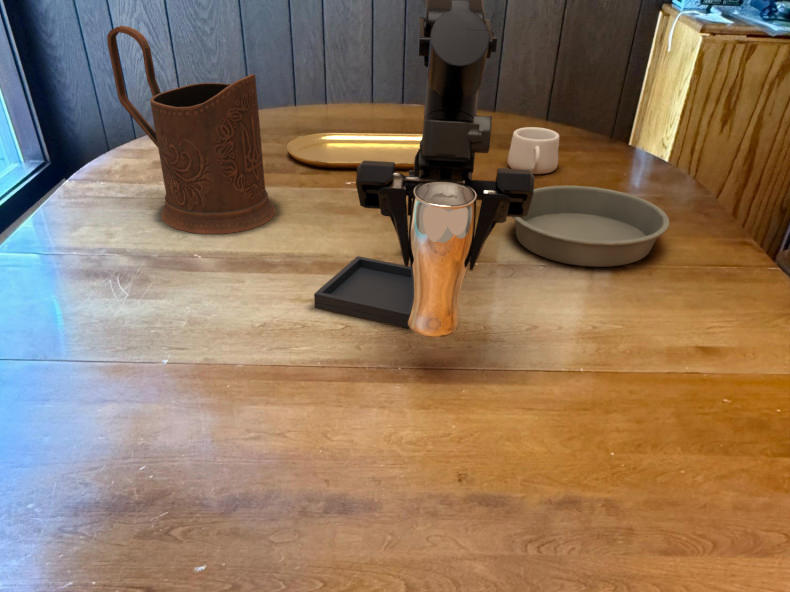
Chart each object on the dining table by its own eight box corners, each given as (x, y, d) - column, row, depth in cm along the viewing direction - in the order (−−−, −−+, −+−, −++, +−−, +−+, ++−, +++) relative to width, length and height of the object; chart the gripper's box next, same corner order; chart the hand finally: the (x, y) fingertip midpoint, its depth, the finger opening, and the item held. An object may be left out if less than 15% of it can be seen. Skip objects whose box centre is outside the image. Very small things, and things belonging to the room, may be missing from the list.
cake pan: (689, 268, 116) (697, 238, 113) (531, 276, 112) (535, 245, 109) (627, 209, 134) (633, 182, 131) (489, 214, 130) (492, 186, 127)
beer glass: (453, 345, 87) (468, 212, 76) (395, 332, 88) (402, 199, 78) (470, 315, 92) (486, 186, 81) (414, 303, 93) (423, 175, 82)
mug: (505, 158, 153) (509, 125, 149) (554, 160, 153) (559, 127, 149) (508, 178, 144) (512, 143, 140) (560, 180, 144) (566, 146, 140)
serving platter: (471, 172, 146) (472, 163, 145) (284, 170, 144) (284, 161, 143) (460, 142, 160) (460, 134, 159) (289, 140, 158) (289, 132, 157)
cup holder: (243, 241, 119) (222, 52, 102) (108, 218, 124) (67, 36, 108) (293, 201, 132) (282, 29, 115) (169, 182, 137) (141, 15, 121)
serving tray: (357, 269, 113) (357, 255, 111) (445, 287, 109) (446, 273, 108) (314, 307, 103) (313, 293, 102) (409, 328, 99) (409, 314, 98)
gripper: (357, 74, 76) (344, 230, 76) (547, 84, 76) (535, 242, 75) (366, 135, 87) (355, 272, 87) (532, 145, 87) (521, 282, 86)
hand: (438, 267), depth 84 cm, fingers closed on beer glass, 7 cm apart
